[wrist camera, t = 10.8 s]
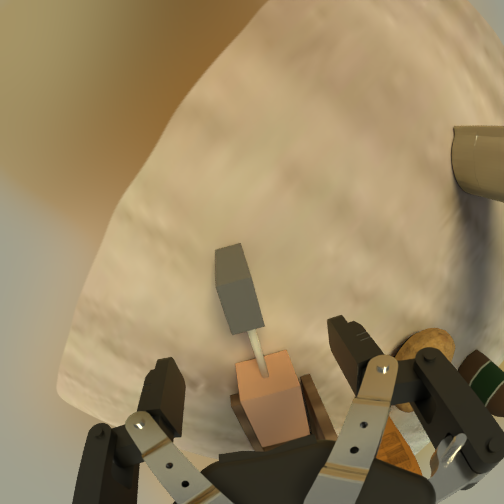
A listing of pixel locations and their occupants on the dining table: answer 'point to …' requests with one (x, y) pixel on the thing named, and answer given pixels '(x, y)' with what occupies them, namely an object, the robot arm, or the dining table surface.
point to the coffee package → (396, 449)
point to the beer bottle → (485, 381)
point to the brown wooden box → (316, 414)
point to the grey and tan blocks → (259, 357)
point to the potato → (423, 340)
